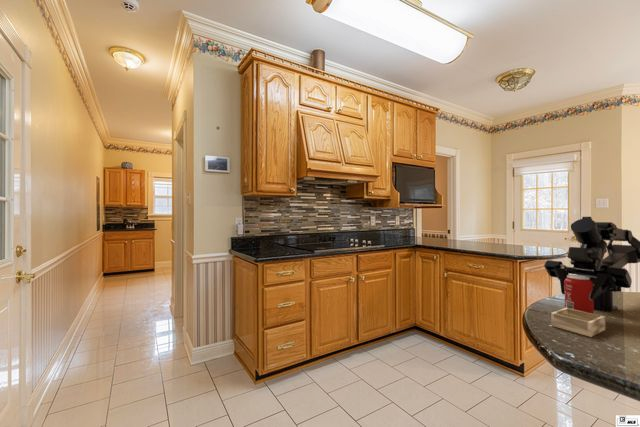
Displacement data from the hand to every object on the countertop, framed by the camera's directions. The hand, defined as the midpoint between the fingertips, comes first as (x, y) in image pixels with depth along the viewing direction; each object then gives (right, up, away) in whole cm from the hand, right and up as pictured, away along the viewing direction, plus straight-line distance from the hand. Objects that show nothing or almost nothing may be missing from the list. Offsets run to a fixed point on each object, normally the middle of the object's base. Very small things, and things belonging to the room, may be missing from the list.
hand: (576, 296), depth 84 cm
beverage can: (+1, -7, +1) cm, 7 cm away
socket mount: (-5, -7, -6) cm, 10 cm away
